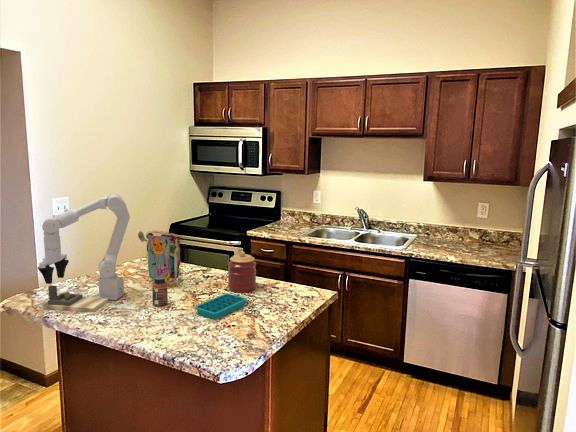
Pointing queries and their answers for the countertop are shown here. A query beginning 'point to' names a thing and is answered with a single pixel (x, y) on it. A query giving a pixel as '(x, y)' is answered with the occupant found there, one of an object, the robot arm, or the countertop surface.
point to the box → (163, 255)
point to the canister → (242, 273)
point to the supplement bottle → (159, 292)
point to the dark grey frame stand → (61, 297)
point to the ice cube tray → (220, 305)
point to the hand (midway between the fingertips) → (54, 280)
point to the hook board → (80, 304)
